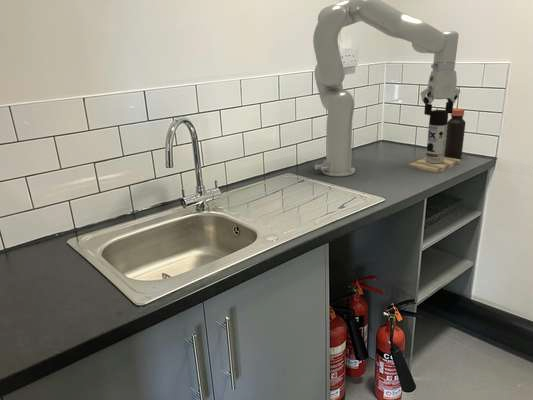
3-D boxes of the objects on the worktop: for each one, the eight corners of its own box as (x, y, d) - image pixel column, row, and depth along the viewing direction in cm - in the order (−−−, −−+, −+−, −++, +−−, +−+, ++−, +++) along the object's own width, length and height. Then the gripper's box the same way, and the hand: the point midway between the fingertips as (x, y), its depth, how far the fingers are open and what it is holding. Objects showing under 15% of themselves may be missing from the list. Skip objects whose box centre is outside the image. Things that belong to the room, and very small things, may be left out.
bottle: (456, 155, 187) (461, 107, 180) (464, 159, 181) (470, 110, 174) (441, 156, 187) (445, 108, 180) (448, 160, 180) (453, 111, 173)
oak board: (437, 173, 164) (437, 169, 164) (408, 167, 173) (408, 163, 173) (460, 163, 175) (460, 159, 175) (432, 158, 184) (432, 154, 184)
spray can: (421, 161, 175) (426, 110, 168) (434, 158, 178) (439, 108, 171) (434, 164, 170) (439, 113, 163) (447, 162, 172) (452, 111, 165)
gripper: (430, 68, 155) (425, 117, 161) (470, 66, 161) (463, 113, 166) (417, 67, 162) (412, 114, 168) (455, 65, 167) (449, 111, 173)
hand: (438, 113), depth 167 cm, fingers open, 9 cm apart
